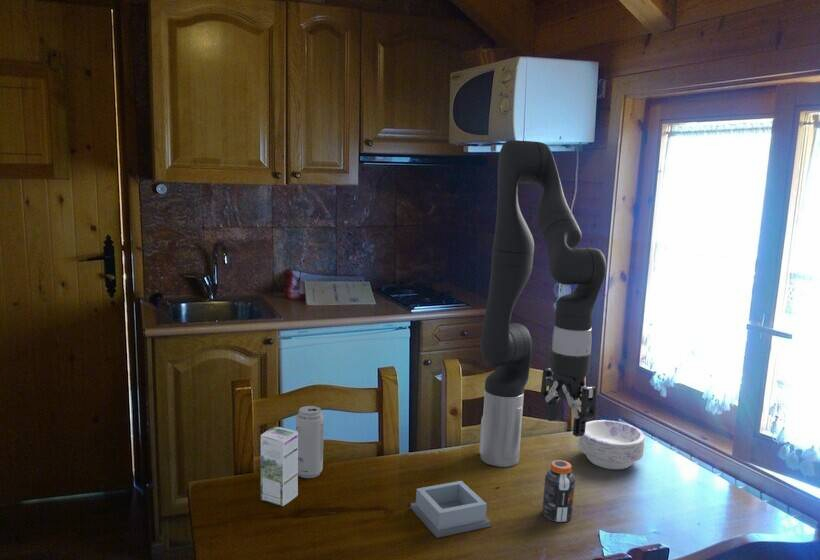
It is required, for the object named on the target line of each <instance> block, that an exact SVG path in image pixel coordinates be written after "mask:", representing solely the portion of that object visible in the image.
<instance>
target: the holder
mask: <svg viewBox="0 0 820 560" xmlns="http://www.w3.org/2000/svg"><path fill="white" fill-rule="evenodd" d="M487 507H488V504H487V503H486V501H484V499H482V498H481V496H479V495H478V494H477V493H475V491H474V490H472V489H471V488H470V487H469V486H468V484H465V482H464V481H462V480H457V481H454V482H447V483H442V484H441V483H440V484H435V485H431V486H429V485H428V486H424V487H419V488H416V492H415V502H411V503H410V509H411V511H412V512H413V513H414V514H415V515H416V516H417V518H419V520H420V521H421V522H422V523H423V525H425V526H426V528H428V530H429V531H430V532H431V534H432V535H434V537H435V538H442V537H446V536H452V535H455V534H461V533H462V534H463V533H466V532H470V531H475V530H482V529H485V528H489V527H492V521H491V520H490V519H489V518H488V517H487V510H488V508H487Z"/></svg>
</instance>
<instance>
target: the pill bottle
mask: <svg viewBox="0 0 820 560" xmlns="http://www.w3.org/2000/svg"><path fill="white" fill-rule="evenodd" d="M544 475H545V476H544V486H543V487H544V489H543V499H542V510H541V512H542V515H543V516H544V517H545V518H546V519H547V520H550V521H551V522H552V521H553V522H558V523H562V522H563V523H564V522H569V520H571V519H572V517H573V506H574V495H575V486H576V485H575V484H576V478H575V476H574V474H573V473H572V464H571V463H570V462H568V461H566V460H561V459H556V460H553V461H551V465H550V469H549V470H547V471H546V473H545V474H544Z"/></svg>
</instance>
